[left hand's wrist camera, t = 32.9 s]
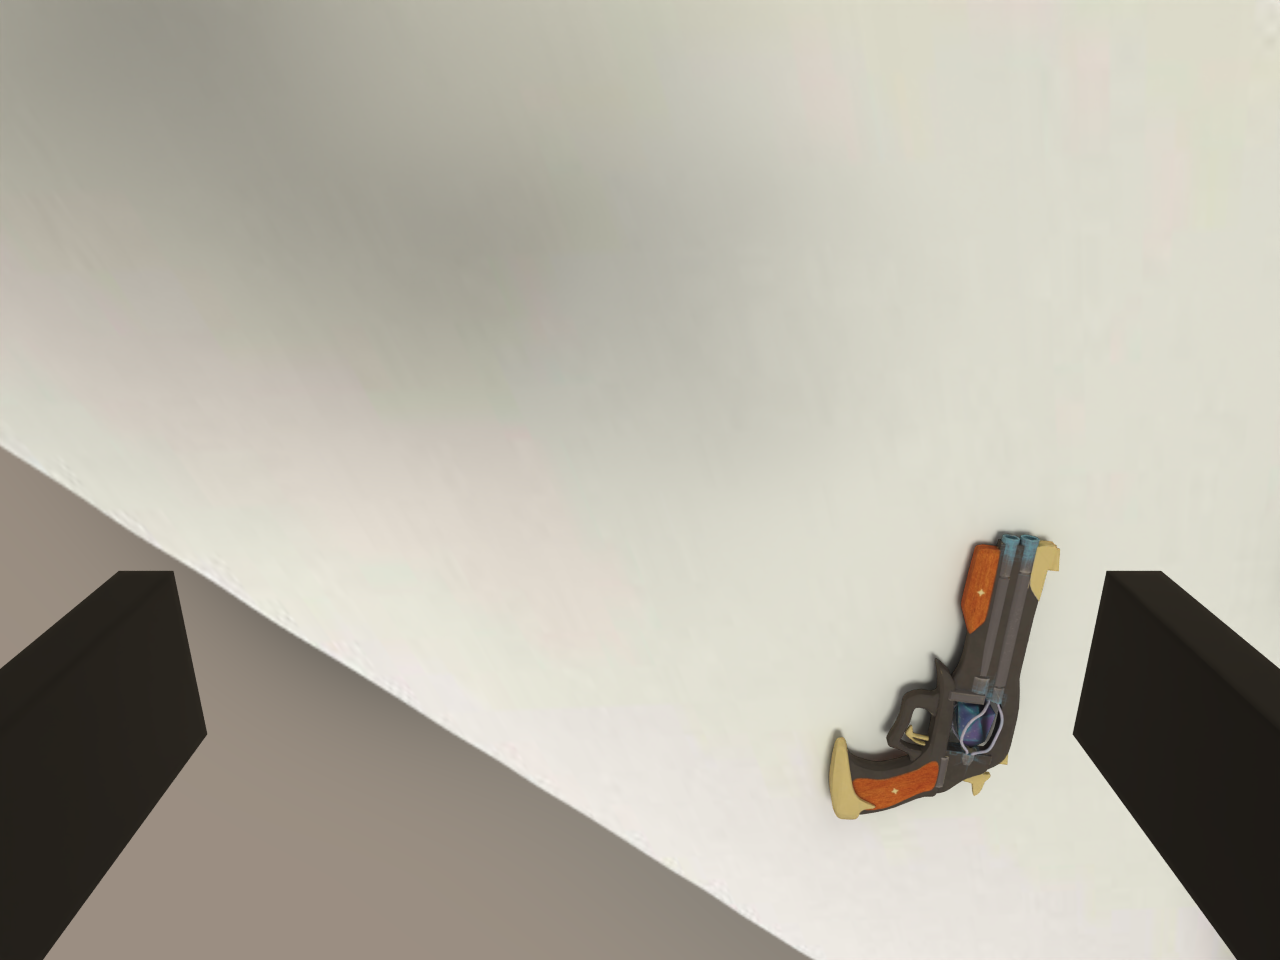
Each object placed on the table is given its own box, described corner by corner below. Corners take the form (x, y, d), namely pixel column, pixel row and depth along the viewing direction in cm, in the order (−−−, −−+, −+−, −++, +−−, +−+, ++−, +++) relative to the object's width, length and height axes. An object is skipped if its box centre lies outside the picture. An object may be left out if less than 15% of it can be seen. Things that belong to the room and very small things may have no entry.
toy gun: (825, 827, 53) (997, 852, 52) (878, 527, 47) (1071, 550, 47) (821, 799, 55) (985, 823, 55) (871, 511, 50) (1054, 532, 49)
